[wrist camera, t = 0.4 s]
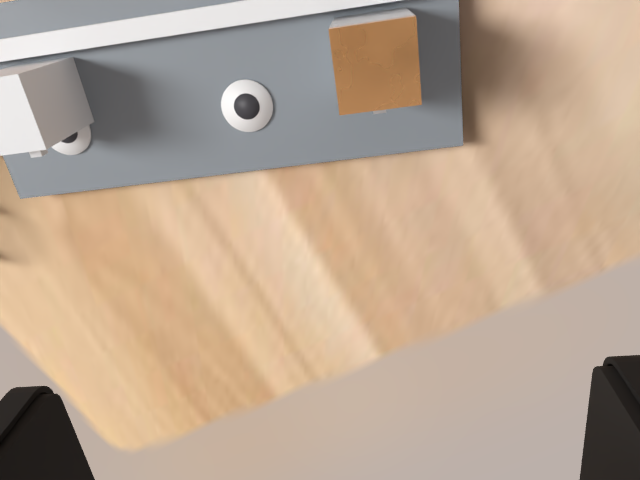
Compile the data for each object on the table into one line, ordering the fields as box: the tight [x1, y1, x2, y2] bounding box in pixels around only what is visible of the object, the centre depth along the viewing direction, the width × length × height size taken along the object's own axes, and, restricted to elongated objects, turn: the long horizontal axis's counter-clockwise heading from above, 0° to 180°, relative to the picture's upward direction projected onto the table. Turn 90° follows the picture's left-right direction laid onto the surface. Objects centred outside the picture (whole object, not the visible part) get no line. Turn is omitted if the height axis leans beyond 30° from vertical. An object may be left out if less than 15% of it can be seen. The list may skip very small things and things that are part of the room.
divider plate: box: [0, 0, 463, 199], centre depth 31 cm, size 12×30×8 cm, turn 98°
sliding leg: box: [328, 7, 422, 115], centre depth 29 cm, size 5×4×7 cm
